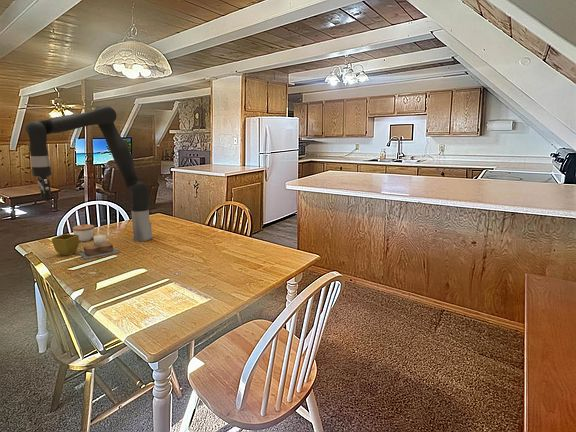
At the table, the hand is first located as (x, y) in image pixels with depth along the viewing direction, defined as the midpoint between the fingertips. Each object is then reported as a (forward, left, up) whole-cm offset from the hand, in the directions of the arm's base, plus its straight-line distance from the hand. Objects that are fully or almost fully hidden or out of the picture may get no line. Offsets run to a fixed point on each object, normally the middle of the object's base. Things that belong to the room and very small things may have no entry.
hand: (46, 199), depth 177 cm
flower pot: (-6, 0, -29) cm, 29 cm away
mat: (-18, +10, -29) cm, 35 cm away
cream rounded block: (-22, -1, -29) cm, 36 cm away
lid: (-18, +10, -28) cm, 35 cm away
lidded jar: (-19, -20, -29) cm, 40 cm away
